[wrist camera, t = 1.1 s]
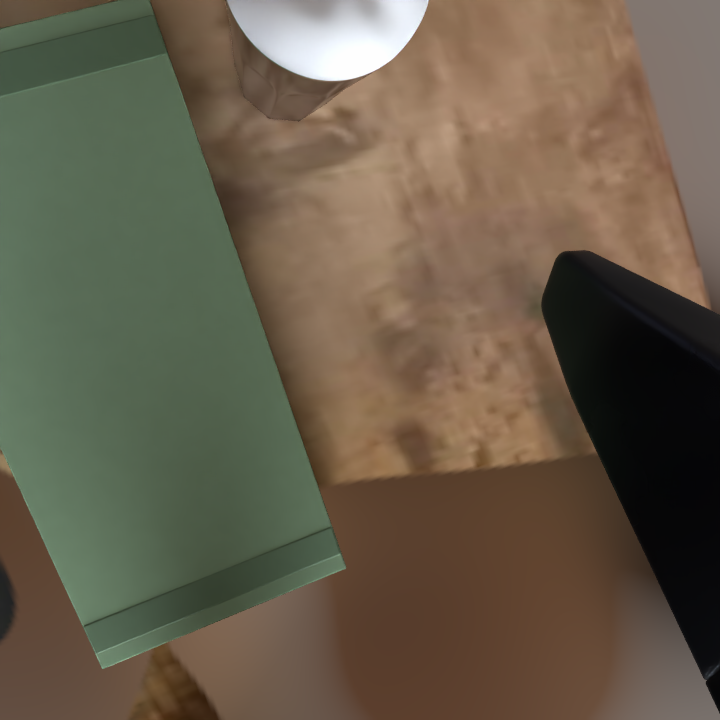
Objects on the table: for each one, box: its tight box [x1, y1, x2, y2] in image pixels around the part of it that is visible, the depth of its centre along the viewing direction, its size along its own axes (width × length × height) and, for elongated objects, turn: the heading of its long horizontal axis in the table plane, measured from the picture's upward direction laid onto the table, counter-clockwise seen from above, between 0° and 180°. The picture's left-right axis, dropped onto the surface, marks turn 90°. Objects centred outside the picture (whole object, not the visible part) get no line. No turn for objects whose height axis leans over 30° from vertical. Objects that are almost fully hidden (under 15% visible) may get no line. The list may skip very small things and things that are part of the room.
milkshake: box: [225, 0, 429, 122], centre depth 17 cm, size 4×5×10 cm
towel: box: [0, 0, 346, 669], centre depth 21 cm, size 20×9×1 cm, turn 18°
